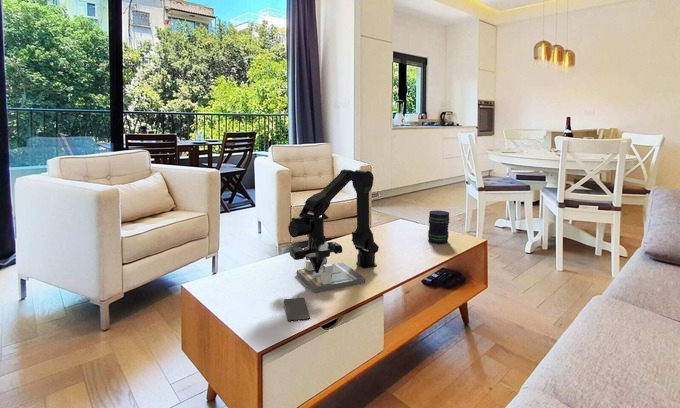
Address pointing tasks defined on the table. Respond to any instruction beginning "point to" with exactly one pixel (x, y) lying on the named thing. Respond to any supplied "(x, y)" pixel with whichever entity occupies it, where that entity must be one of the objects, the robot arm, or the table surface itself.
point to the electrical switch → (323, 260)
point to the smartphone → (296, 309)
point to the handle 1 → (309, 265)
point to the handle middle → (328, 268)
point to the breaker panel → (339, 278)
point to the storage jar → (438, 227)
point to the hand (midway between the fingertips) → (316, 272)
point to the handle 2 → (326, 278)
